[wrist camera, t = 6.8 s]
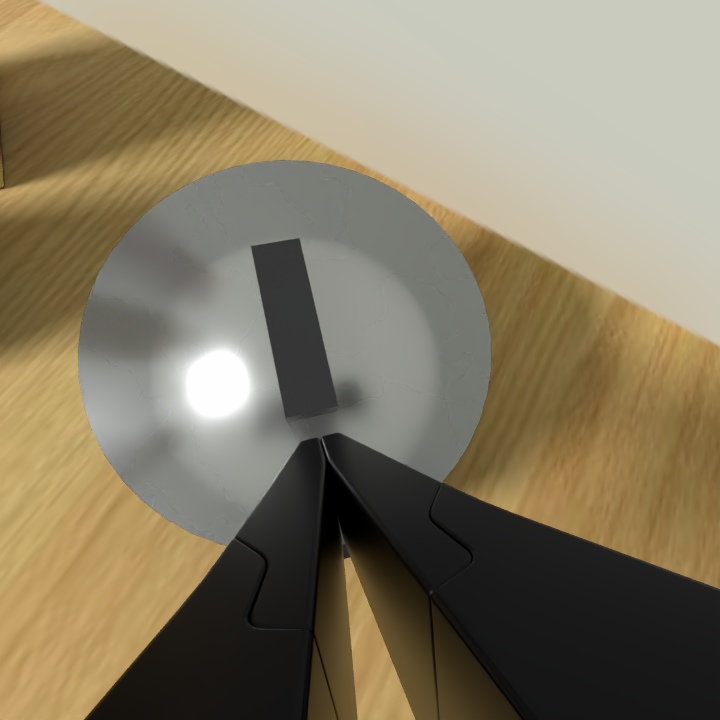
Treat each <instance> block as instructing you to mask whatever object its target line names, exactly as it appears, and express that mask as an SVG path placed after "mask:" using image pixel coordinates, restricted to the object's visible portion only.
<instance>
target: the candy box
mask: <svg viewBox="0 0 720 720" xmlns="http://www.w3.org/2000/svg"><path fill="white" fill-rule="evenodd" d="M3 186H4V181H3V160H2V150H1V139H0V188H2V187H3Z"/></svg>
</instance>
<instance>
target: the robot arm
mask: <svg viewBox="0 0 720 720" xmlns="http://www.w3.org/2000/svg"><path fill="white" fill-rule="evenodd" d="M338 521H339V522H338ZM339 525H340V527H339ZM340 529H341V532H340ZM341 533H342V536H343V539H344V542H345V544H346V547H347V550H348V552H349V555H350V557H351V560H352V562H353V565H354V567H355V570H356V572H357V575H358V577H359V579H360V582H361V584H362V587H363V589H364V592H365V594H366V597H367V599H368V602H369V604H370V607H371V609H372V612H373V614H374V617H375V619H376V622H377V624H378V627H379V629H380V632H381V634H382V637H383V639H384V642H385V644H386V647H387V649H388V652H389V654H390V657H391V659H392V662H393V664H394V667H395V669H396V672H397V674H398V677H399V679H400V682H401V684H402V687H403V689H404V692H405V694H406V697H407V699H408V702H409V704H410V707H411V709H412V712H413V714H414V717H415V719H416V720H720V589H718V588H715V587H712V586H710V585H707V584H704V583H702V582H699V581H696V580H693V579H691V578H688V577H685V576H683V575H680V574H677V573H674V572H672V571H669V570H666V569H664V568H661V567H658V566H655V565H653V564H650V563H647V562H645V561H642V560H639V559H636V558H634V557H631V556H628V555H626V554H623V553H620V552H617V551H615V550H612V549H609V548H607V547H604V546H601V545H598V544H596V543H593V542H590V541H588V540H585V539H582V538H579V537H577V536H574V535H571V534H569V533H566V532H563V531H560V530H558V529H555V528H552V527H550V526H547V525H544V524H541V523H539V522H536V521H533V520H531V519H528V518H525V517H523V516H520V515H517V514H514V513H512V512H509V511H507V510H504V509H502V508H499V507H497V506H494V505H491V504H489V503H486V502H484V501H482V500H479V499H477V498H475V497H473V496H470V495H468V494H466V493H464V492H462V491H459V490H457V489H455V488H453V487H451V486H449V485H447V484H445V483H443V484H442V483H441V482H439V481H437V480H435V479H433V478H431V477H429V476H427V475H425V474H423V473H421V472H419V471H417V470H415V469H413V468H411V467H409V466H407V465H405V464H403V463H401V462H399V461H396V460H394V459H392V458H390V457H388V456H386V455H384V454H382V453H380V452H378V451H376V450H374V449H372V448H370V447H368V446H366V445H364V444H362V443H360V442H358V441H356V440H354V439H352V438H350V437H347V436H345V435H343V434H341V433H333V434H329V435H325V436H322V437H321V441H320V439H319V438H312V439H308V440H304V441H301V442H300V443H299V444H298V446H297V447H296V449H295V450H294V451H293V453H292V454H291V456H290V457H289V459H288V460H287V462H286V463H285V465H284V466H283V467H282V469H281V470H280V472H279V473H278V475H277V476H276V478H275V479H274V480H273V482H272V483H271V485H270V486H269V488H268V489H267V491H266V492H265V494H264V495H263V496H262V498H261V499H260V501H259V502H258V504H257V505H256V507H255V508H254V509H253V511H252V512H251V514H250V515H249V517H248V518H247V520H246V521H245V523H244V524H243V525H242V527H241V528H240V530H239V531H238V533H237V534H236V536H235V537H234V539H233V540H231V542H230V543H229V544H228V546H227V547H226V549H225V550H224V552H223V553H222V555H221V556H220V557H219V559H218V560H217V561H216V563H215V564H214V565H213V567H212V568H211V569H210V571H209V572H208V574H207V575H206V576H205V578H204V579H203V580H202V581H201V583H200V584H199V585H198V586H197V587H196V589H195V590H194V591H193V592H192V594H191V595H190V596H189V597H188V598H187V600H186V601H185V602H184V603H183V605H182V606H181V607H180V608H179V609H178V611H177V612H176V613H175V614H174V615H173V616H172V618H171V619H170V620H169V621H168V622H167V623H166V625H165V626H164V627H163V628H162V629H161V630H160V632H159V633H158V634H157V635H156V636H155V637H154V639H153V640H152V641H151V642H150V643H149V644H148V646H147V647H146V648H145V649H144V650H143V651H142V653H141V654H140V655H139V656H138V657H137V658H136V660H135V661H134V662H133V663H132V664H131V665H130V667H129V668H128V669H127V670H126V671H125V672H124V674H123V675H122V676H121V677H120V678H119V679H118V681H117V682H116V683H115V684H114V685H113V686H112V688H111V689H110V690H109V691H108V692H107V693H106V695H105V696H104V697H103V698H102V699H101V700H100V702H99V703H98V704H97V705H96V706H95V707H94V709H93V710H92V711H91V712H90V713H89V714H88V716H87V717H86V718H85V719H84V720H357V708H356V696H355V685H354V673H353V661H352V650H351V638H350V627H349V615H348V603H347V592H346V580H345V569H344V557H343V546H342V537H341Z"/></svg>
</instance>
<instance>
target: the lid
mask: <svg viewBox="0 0 720 720" xmlns="http://www.w3.org/2000/svg"><path fill="white" fill-rule="evenodd" d="M78 367H79V382H80V387H81V393H82V399H83V405H84V408H85V411H86V414H87V417H88V420H89V423H90V426H91V429H92V431H93V433H94V435H95V437H96V439H97V441H98V443H99V445H100V447H101V449H102V451H103V453H104V455H105V457H106V458H107V460H108V461H109V462H110V464H111V465H112V467H113V468H114V469H115V471H116V472H117V474H118V475H119V476H120V478H121V479H122V480H123V481H124V483H125V484H126V485H127V486H128V487H129V488H130V489H131V490H132V491H133V492H134V493H135V494H136V495H137V496H138V497H139V498H140V499H141V500H142V501H143V502H144V503H146V504H147V505H148V506H150V507H151V508H152V509H154V510H155V511H156V512H157V513H159V514H160V515H161V516H163V517H164V518H165V519H167V520H169V521H170V522H172V523H174V524H176V525H178V526H179V527H181V528H183V529H185V530H187V531H188V532H190V533H192V534H195V535H197V536H200V537H203V538H205V539H208V540H210V541H213V542H216V543H218V544H221V545H226V546H228V544H229V543H230V542H231V540H233V539H234V537H235V536H236V534H237V533H238V531H239V530H240V528H241V527H242V525H243V524H244V523H245V521H246V520H247V518H248V517H249V515H250V514H251V512H252V511H253V509H254V508H255V507H256V505H257V504H258V502H259V501H260V499H261V498H262V496H263V495H264V494H265V492H266V491H267V489H268V488H269V486H270V485H271V483H272V482H273V480H274V479H275V478H276V476H277V475H278V473H279V472H280V470H281V469H282V467H283V466H284V465H285V463H286V462H287V460H288V459H289V457H290V456H291V454H292V453H293V451H294V450H295V449H296V447H297V446H298V444H299V443H300V442H301V441H304V440H308V439H312V438H319V439H320V441H321V437H322V436H325V435H329V434H333V433H341V434H343V435H345V436H347V437H350V438H352V439H354V440H356V441H358V442H360V443H362V444H364V445H366V446H368V447H370V448H372V449H374V450H376V451H378V452H380V453H382V454H384V455H386V456H388V457H390V458H392V459H394V460H396V461H399V462H401V463H403V464H405V465H407V466H409V467H411V468H413V469H415V470H417V471H419V472H421V473H423V474H425V475H427V476H429V477H431V478H433V479H435V480H437V481H439V482H441V483H442V482H443V480H444V479H445V478H446V477H447V476H448V474H449V473H450V472H451V471H452V469H453V468H454V467H455V466H456V464H457V463H458V461H459V459H460V458H461V456H462V454H463V453H464V451H465V450H466V448H467V446H468V445H469V443H470V441H471V439H472V436H473V434H474V432H475V430H476V427H477V425H478V423H479V420H480V418H481V414H482V411H483V408H484V404H485V401H486V397H487V393H488V386H489V379H490V373H491V338H490V329H489V321H488V317H487V313H486V309H485V305H484V301H483V297H482V294H481V292H480V289H479V287H478V284H477V282H476V279H475V277H474V274H473V273H472V271H471V269H470V267H469V265H468V264H467V262H466V260H465V258H464V256H463V254H462V253H461V252H460V250H459V249H458V247H457V246H456V245H455V243H454V242H453V240H452V239H451V238H450V236H449V235H448V234H447V233H446V232H445V231H444V230H443V228H442V227H441V226H440V225H439V224H438V223H437V222H436V221H435V220H434V219H433V218H432V217H431V216H430V215H429V214H428V213H426V212H425V211H424V210H423V209H422V208H421V207H419V206H418V205H417V204H416V203H415V202H413V201H412V200H410V199H409V198H407V197H406V196H404V195H403V194H401V193H400V192H398V191H397V190H395V189H393V188H391V187H389V186H388V185H386V184H384V183H382V182H380V181H378V180H376V179H374V178H371V177H369V176H366V175H363V174H361V173H358V172H355V171H353V170H349V169H345V168H341V167H337V166H334V165H330V164H323V163H316V162H309V161H287V160H280V161H267V162H256V163H251V164H246V165H241V166H236V167H232V168H229V169H225V170H222V171H219V172H216V173H213V174H210V175H207V176H205V177H203V178H201V179H199V180H196V181H194V182H192V183H190V184H187V185H186V186H184V187H182V188H181V189H179V190H177V191H176V192H174V193H172V194H171V195H169V196H167V197H166V198H164V199H163V200H162V201H160V202H159V203H158V204H156V205H155V206H154V207H153V208H151V209H150V210H149V211H147V212H146V213H145V214H144V215H143V216H142V217H141V218H140V219H139V220H138V221H137V222H136V223H135V224H134V225H133V226H132V227H131V228H130V229H129V230H128V231H127V232H126V233H125V235H124V236H123V237H122V238H121V240H120V241H119V242H118V244H117V245H116V246H115V247H114V249H113V250H112V251H111V253H110V255H109V256H108V258H107V260H106V261H105V263H104V265H103V267H102V268H101V270H100V272H99V273H98V276H97V278H96V280H95V283H94V285H93V287H92V290H91V292H90V295H89V297H88V300H87V304H86V308H85V311H84V315H83V319H82V323H81V330H80V338H79V346H78ZM338 522H339V521H338ZM339 527H340V525H339ZM340 532H341V529H340ZM341 537H342V545H343V544H345V542H344V539H343V536H342V533H341Z"/></svg>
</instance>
